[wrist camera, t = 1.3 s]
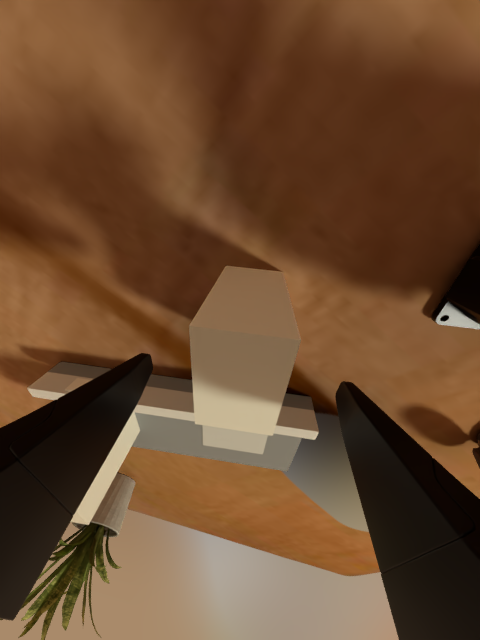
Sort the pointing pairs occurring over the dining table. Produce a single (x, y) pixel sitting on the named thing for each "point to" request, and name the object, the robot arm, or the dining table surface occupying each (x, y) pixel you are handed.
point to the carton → (243, 350)
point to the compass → (477, 451)
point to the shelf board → (193, 420)
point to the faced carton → (107, 472)
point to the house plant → (81, 558)
